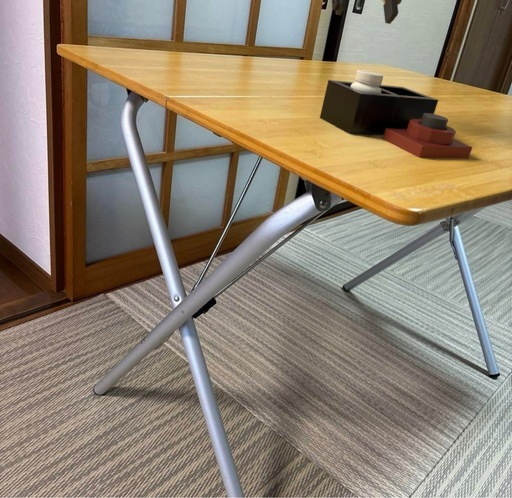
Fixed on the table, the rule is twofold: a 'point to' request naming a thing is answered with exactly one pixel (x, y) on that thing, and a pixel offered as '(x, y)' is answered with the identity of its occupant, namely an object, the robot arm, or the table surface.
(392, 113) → the black divided box
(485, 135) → the table surface
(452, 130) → the panel
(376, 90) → the pill bottle
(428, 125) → the button
